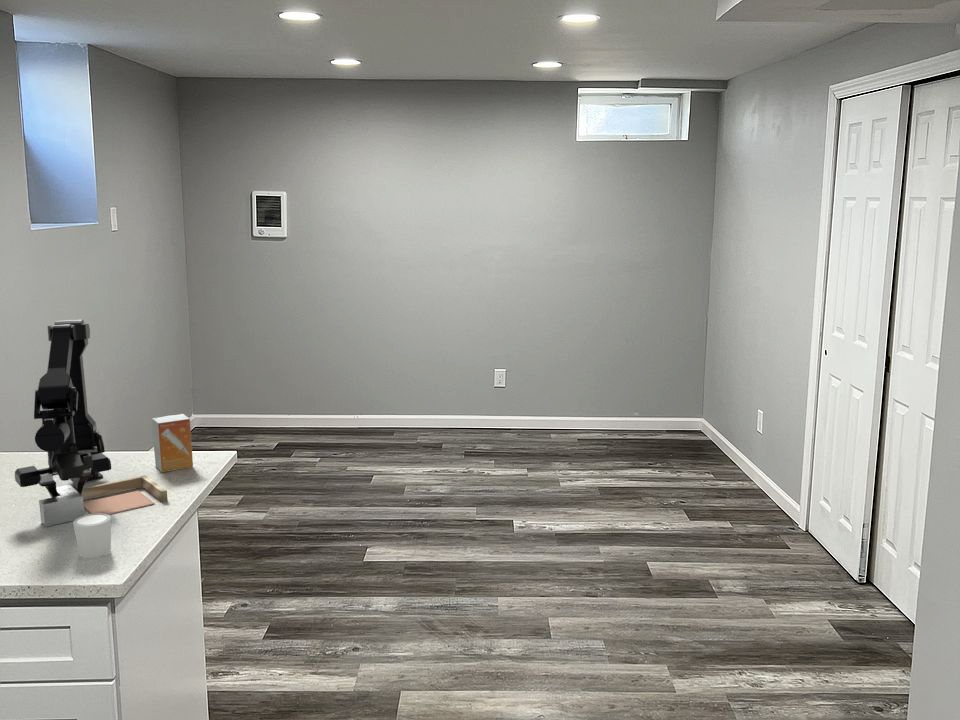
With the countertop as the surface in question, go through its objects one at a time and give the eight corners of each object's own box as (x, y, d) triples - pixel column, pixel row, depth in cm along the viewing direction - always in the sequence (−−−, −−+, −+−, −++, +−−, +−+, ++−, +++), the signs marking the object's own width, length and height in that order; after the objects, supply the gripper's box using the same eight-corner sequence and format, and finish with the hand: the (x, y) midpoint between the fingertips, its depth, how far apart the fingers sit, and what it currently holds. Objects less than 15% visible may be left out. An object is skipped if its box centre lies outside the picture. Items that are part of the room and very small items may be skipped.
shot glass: (83, 546, 181) (80, 513, 180) (118, 545, 182) (115, 512, 180) (71, 560, 175) (67, 526, 173) (107, 559, 175) (104, 525, 174)
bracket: (84, 518, 197) (82, 496, 196) (45, 526, 192) (42, 504, 191) (72, 505, 204) (70, 484, 203) (33, 513, 199) (31, 492, 198)
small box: (161, 473, 227) (157, 423, 224) (155, 466, 232) (151, 417, 229) (194, 467, 231) (190, 418, 229) (187, 461, 236) (183, 413, 234)
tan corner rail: (69, 501, 207) (67, 491, 207) (146, 484, 218) (145, 475, 217) (87, 519, 196) (86, 508, 195) (167, 500, 207) (166, 490, 206)
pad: (80, 504, 205) (80, 503, 205) (138, 491, 213) (138, 490, 213) (94, 517, 197) (94, 516, 197) (154, 504, 205) (154, 503, 205)
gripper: (22, 455, 185) (30, 527, 188) (115, 438, 197) (122, 506, 200) (10, 443, 194) (18, 512, 197) (100, 428, 205) (106, 493, 208)
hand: (67, 506), depth 200 cm, fingers closed on bracket, 3 cm apart
